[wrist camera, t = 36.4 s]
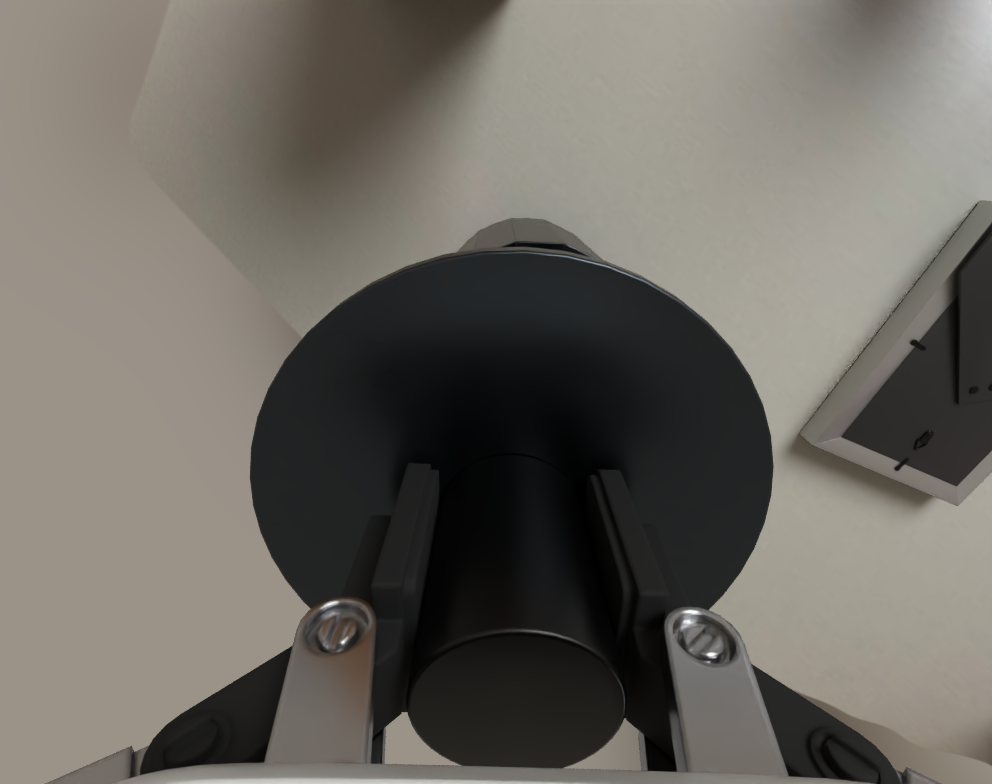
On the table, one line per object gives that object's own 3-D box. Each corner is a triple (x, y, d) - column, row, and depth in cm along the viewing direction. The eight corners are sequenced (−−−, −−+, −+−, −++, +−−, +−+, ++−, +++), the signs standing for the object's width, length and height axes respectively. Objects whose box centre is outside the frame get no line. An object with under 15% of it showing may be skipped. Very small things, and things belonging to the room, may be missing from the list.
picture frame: (980, 200, 36) (799, 433, 44) (1017, 202, 33) (817, 450, 41) (1136, 286, 38) (938, 492, 46) (1182, 295, 36) (964, 511, 44)
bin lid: (300, 645, 16) (196, 899, 11) (228, 230, 11) (-59, 298, 5) (696, 657, 16) (800, 915, 11) (815, 253, 11) (1140, 343, 5)
